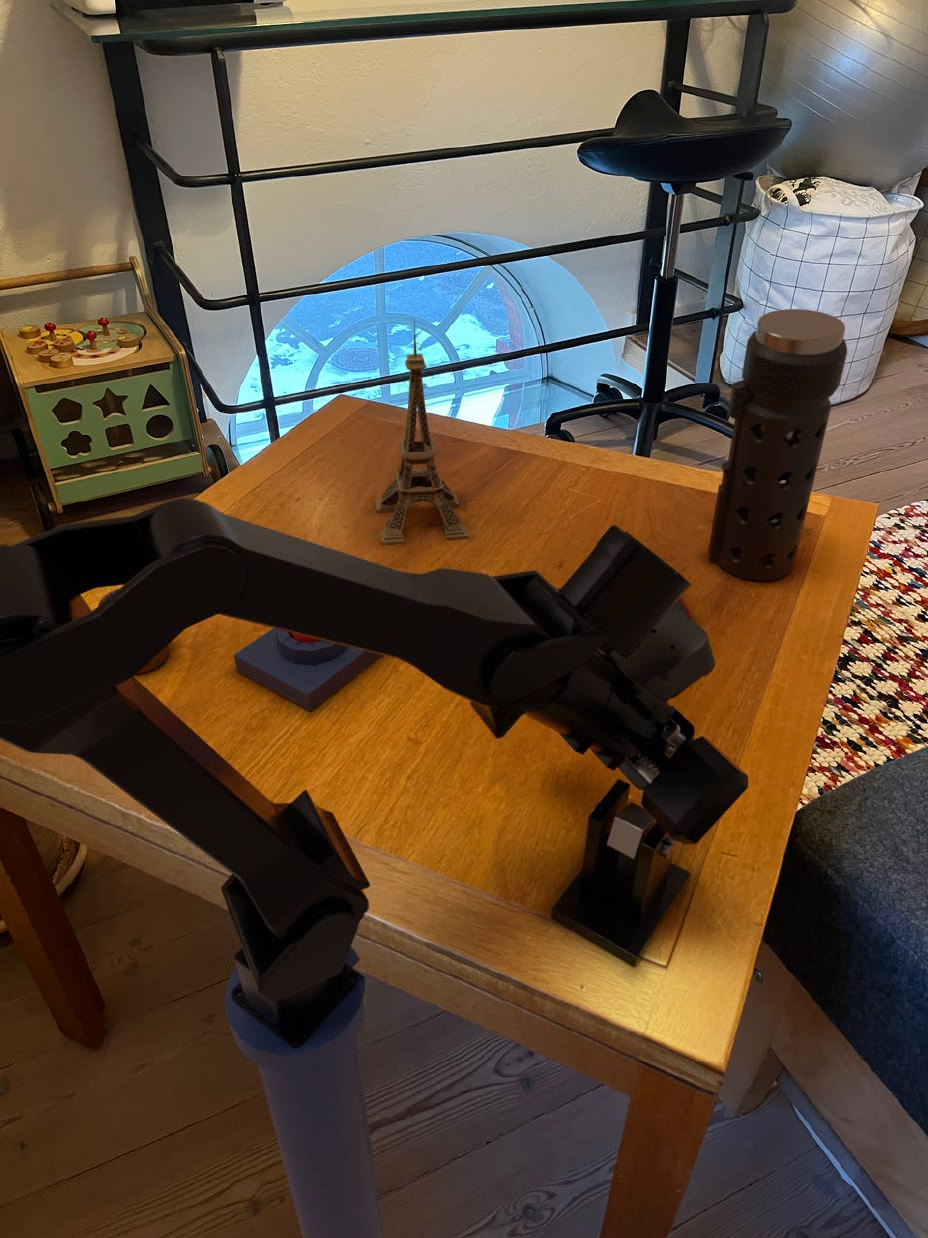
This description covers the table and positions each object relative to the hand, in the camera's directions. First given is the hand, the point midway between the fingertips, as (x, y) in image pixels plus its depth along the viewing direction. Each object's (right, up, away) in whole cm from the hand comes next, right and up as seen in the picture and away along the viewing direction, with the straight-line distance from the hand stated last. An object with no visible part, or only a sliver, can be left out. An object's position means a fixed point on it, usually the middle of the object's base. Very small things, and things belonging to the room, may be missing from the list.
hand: (681, 755), depth 71 cm
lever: (-2, -5, -2) cm, 5 cm away
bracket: (-5, -11, -2) cm, 12 cm away
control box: (-32, +7, +21) cm, 39 cm away
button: (-32, +9, +19) cm, 38 cm away
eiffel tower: (-22, +23, +43) cm, 54 cm away
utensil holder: (-50, +7, +21) cm, 54 cm away
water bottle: (+16, +17, +36) cm, 43 cm away
